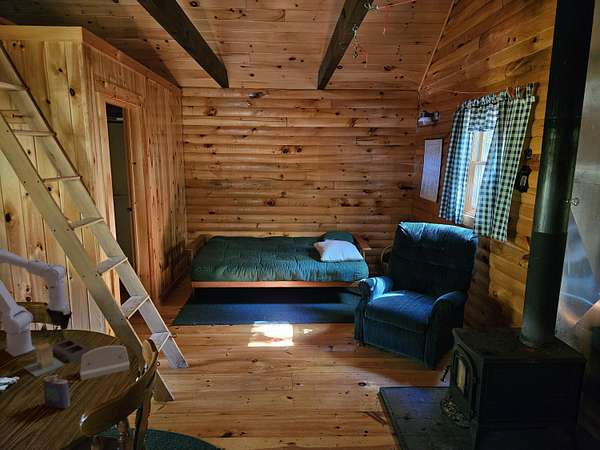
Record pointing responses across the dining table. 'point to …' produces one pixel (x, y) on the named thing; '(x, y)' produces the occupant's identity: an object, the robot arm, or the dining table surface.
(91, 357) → the grey rounded block
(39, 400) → the dining table surface
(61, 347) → the double cubby frame
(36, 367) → the mat
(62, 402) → the flask
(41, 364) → the tan rectangular block
